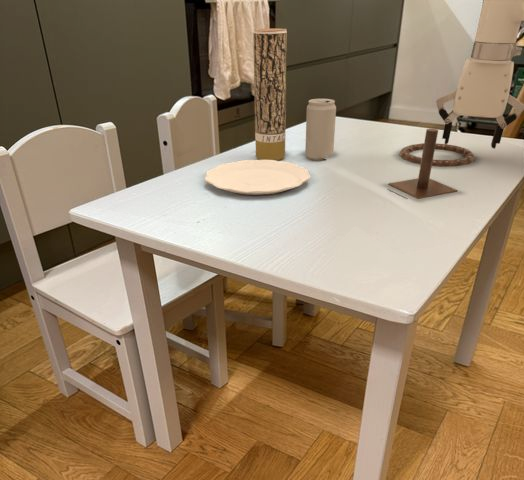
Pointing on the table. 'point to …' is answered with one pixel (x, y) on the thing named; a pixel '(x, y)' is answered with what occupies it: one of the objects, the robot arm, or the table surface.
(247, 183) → the plate
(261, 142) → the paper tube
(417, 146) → the ring
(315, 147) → the beverage can
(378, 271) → the table surface
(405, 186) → the peg stand
